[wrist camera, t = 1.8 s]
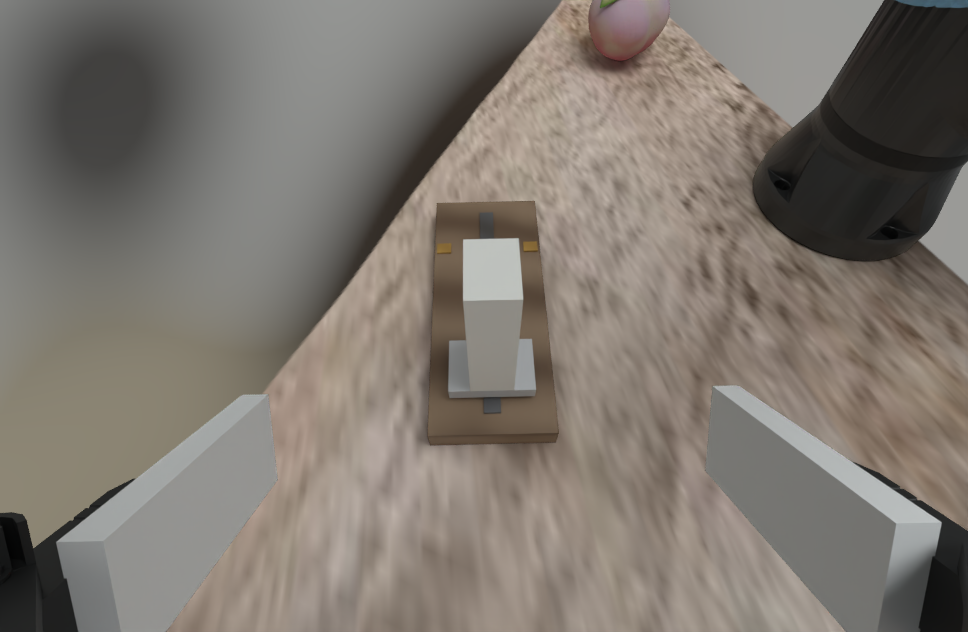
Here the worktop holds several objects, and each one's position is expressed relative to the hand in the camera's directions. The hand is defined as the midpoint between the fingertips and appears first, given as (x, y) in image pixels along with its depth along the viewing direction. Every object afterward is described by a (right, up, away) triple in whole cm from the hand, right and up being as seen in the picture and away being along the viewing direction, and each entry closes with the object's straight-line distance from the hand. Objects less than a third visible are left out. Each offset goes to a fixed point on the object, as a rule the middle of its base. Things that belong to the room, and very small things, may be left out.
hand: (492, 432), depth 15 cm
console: (0, +4, +27) cm, 27 cm away
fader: (0, -1, +21) cm, 21 cm away
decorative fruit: (+16, +35, +47) cm, 61 cm away
